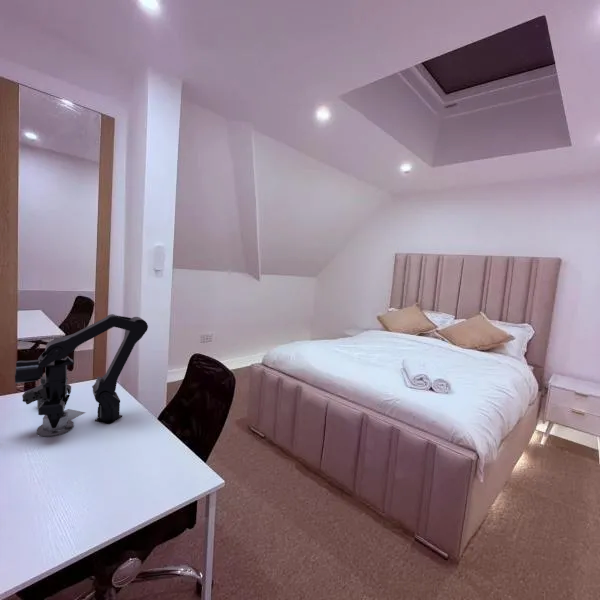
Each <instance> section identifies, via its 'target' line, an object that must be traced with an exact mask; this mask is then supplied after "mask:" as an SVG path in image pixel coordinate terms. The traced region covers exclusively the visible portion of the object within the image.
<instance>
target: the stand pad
mask: <svg viewBox="0 0 600 600" xmlns="http://www.w3.org/2000/svg"><path fill="white" fill-rule="evenodd" d="M64 411H65V412H68V420H71V421H72V420H73V419H76V418H78V417H80V416H82V415H84V414H86V413H87V412H85V411H80V410H76V409H70V408H66V409H64Z"/></svg>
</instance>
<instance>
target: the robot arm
mask: <svg viewBox="0 0 600 600" xmlns="http://www.w3.org/2000/svg"><path fill="white" fill-rule="evenodd" d="M112 328H118V329H121V330H124V335H123V339H122V342H121V343H120V346H119V348H118V349H117V350H116V351H117V352H116V353H115V355H114V358H113V359H112V361H111V363H110V365H109V367H108V368H107V371H106V373H105V374H104V375H102V377H100V376H97V378H96V380H95V383H94V384H93V385H92V386H91V387H92V393H93V397H94V400H95V402H97V403H98V406H97V418H96V419H94V422H97V423H100V424H106V425H111V424H113V423H114V422H117V421H118V420H120V419H122V418H123V415H122V414H120V408H121V406H120V403H121V399H120V397H119V395H118V393H117V392H116V390H117V385H118V384H117V383H118V379H119V376H120V375H121V373H122V371H123V369H124V367H125V365H126V364H127V362H128V359H129V357H130V355H131V353H132V351H133V349H134V347H135V346H136V344H137V343H138V342H139V341H140V340H141V339H142V338H143V336H144V335H145V334H146V333H147V331H148V329H149V325H148V323H147V322H146V320H144V319H143V318H141V317H139V316H133V317H128V316H121V315H117V314H113V313H111V314H110V313H109V314H108V315H107V316H106V317H103V318H102V319H100V320H97V321H96V322H94V323H92V324H90V325H87V326H86V327H83V328H82V329H80V330H78V331H76V332H75V333H72V334H69V335H65V336H61V337H57V338H55V339H52V340H49V341H48V342H47V343H46V345H45V348H44V349H45V350H44V351H43V352H42V354H40V356H39V357H38V359H33V360H31V359H30V360H18V361H16V365H15V373H14V380H15V381H14V383H15V384H22V383H31V382H38V381H39V380H40V379H41V377H43V375H44V376H45V384H43V385H42V386H39V385H37V386H36V387H33V388H31V389H28V390H25V392H24V391H23V394H22V395H21V396H22V402H23V403H25V404H26V405H30V404H31V403H34V402H36V401H37V400H39V399H41V398H42V400H47V399H48V401H45V402H43V403H42V404H41V405H40V407H39V409H38V408H37V410H38V411H37V412H38V413H37V415H38V416H44V415H47V416H48V419H49V422H50V424H51V427H52V428H56V426H57V424H58V422H59V420H60V418H61V416H62V413H63V411H65V410H66V405H67V402H68V401H69V399H70V396H71V393H72V385H70V384H69V383H68V382H69V381H68V380H69V379H68V377H67V376H68V366H71V365H74V364H75V362H74V359H72V358H70V356H68V355H70V354H71V353H72V352H73V351H75V350H76V349H77V348H78V347H79V346H81V345H82V344H84V343H86V342H87V341H90V340H92V339H94V338H96V337H97V336H100V335H101V334H103V333H105V332H106V331H108V330H110V329H112ZM44 368H45V372H44ZM43 373H45V374H43Z"/></svg>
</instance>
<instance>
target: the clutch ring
mask: <svg viewBox="0 0 600 600" xmlns="http://www.w3.org/2000/svg"><path fill="white" fill-rule="evenodd" d="M67 424H68V412H65V410H64V411H63V413H62V416H61V418H60V420H59V422H58V424H57V426H56V428H52V427H51V424H50V422H49V419H48V416H47V415H43V418H42V425H43V430H44V431H48V432H51V431H59V430H61V429H63V428H65V427H67Z"/></svg>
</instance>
